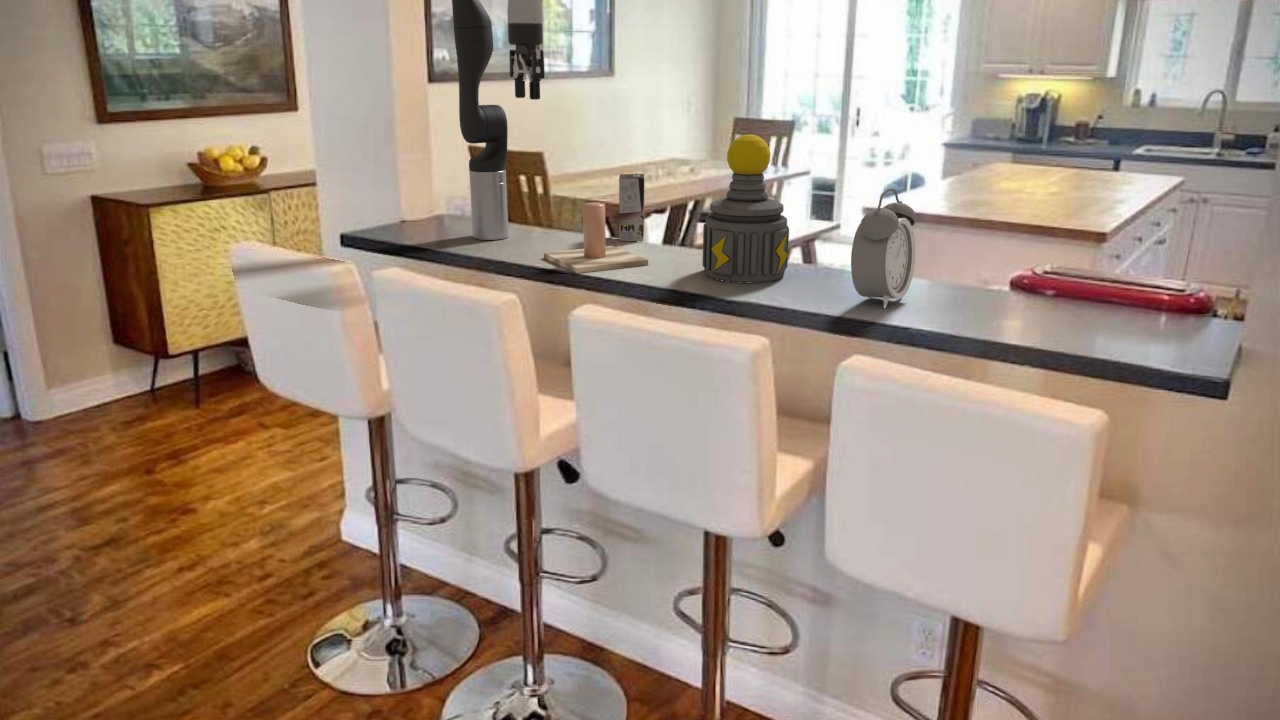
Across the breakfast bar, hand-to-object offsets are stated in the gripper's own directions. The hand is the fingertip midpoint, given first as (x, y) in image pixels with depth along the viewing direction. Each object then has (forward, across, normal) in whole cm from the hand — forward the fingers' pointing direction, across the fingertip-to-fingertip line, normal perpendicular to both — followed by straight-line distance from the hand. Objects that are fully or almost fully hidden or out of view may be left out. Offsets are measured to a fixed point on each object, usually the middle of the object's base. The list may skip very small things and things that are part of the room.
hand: (527, 98), depth 214 cm
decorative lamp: (+36, -38, -34) cm, 63 cm away
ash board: (+36, -11, -11) cm, 39 cm away
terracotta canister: (+35, -11, -11) cm, 38 cm away
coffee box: (+36, +10, -32) cm, 49 cm away
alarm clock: (+36, -70, -44) cm, 90 cm away
